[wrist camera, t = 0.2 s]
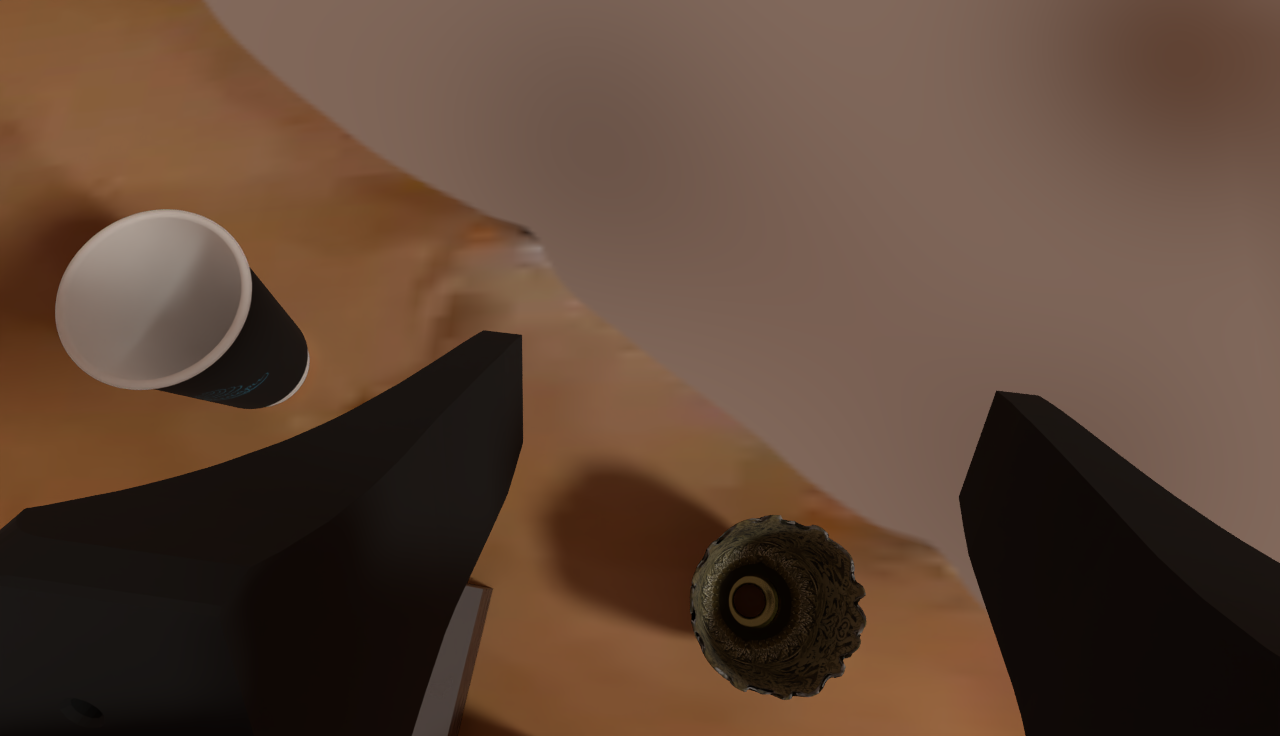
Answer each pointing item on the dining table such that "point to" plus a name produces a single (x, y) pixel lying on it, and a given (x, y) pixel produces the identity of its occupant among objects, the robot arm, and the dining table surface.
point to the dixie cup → (178, 314)
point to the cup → (777, 607)
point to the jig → (454, 666)
